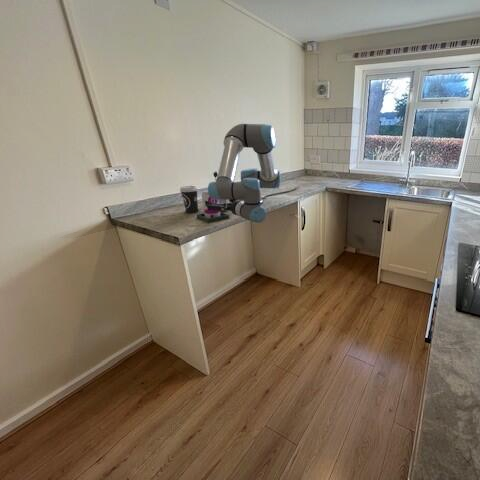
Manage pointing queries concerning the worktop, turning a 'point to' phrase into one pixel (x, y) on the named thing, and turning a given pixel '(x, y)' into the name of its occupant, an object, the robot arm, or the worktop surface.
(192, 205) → the coffee cup
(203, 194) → the supplement can
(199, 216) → the base pad
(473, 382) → the worktop surface
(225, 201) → the medicine box
